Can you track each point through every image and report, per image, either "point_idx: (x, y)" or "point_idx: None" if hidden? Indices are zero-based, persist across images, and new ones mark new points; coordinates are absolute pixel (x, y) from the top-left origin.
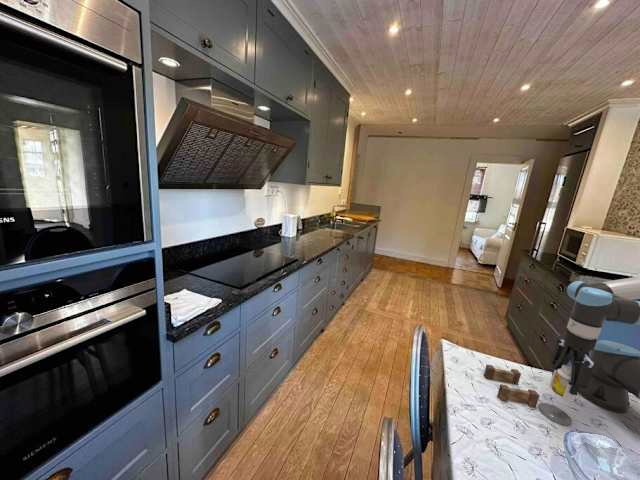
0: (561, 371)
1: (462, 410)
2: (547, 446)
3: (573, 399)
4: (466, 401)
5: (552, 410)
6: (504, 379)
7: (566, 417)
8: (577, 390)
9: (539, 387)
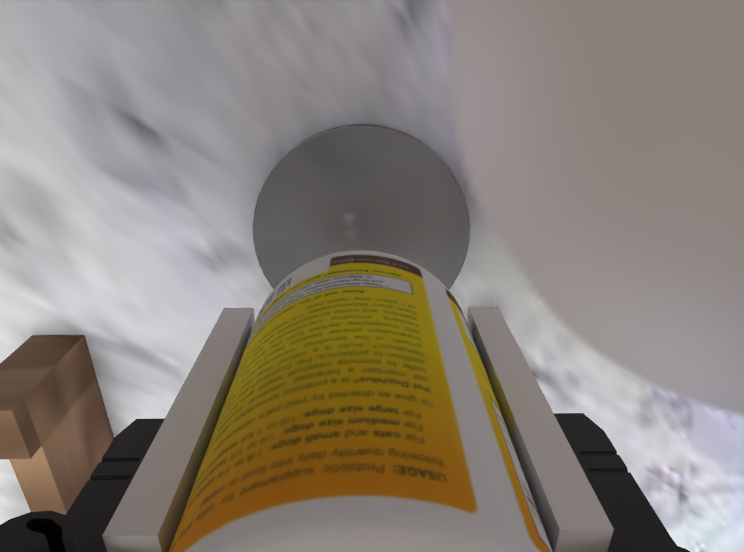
0: None
1: None
2: (639, 431)
3: (506, 328)
4: None
5: (335, 237)
6: (96, 442)
7: (391, 166)
8: (637, 502)
9: (4, 146)
